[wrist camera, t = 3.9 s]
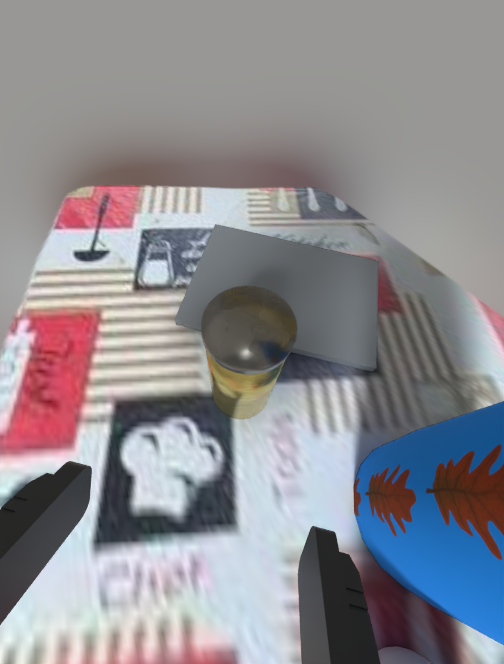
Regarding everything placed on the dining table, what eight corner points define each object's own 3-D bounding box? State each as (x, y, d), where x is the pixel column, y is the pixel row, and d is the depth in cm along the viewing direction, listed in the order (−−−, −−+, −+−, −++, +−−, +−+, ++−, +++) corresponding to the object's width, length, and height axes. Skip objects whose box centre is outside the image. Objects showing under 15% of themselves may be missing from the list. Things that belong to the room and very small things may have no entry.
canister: (275, 370, 28) (303, 297, 18) (263, 427, 25) (289, 380, 15) (220, 357, 28) (217, 276, 18) (203, 411, 26) (187, 355, 15)
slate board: (374, 266, 36) (378, 261, 35) (371, 371, 29) (376, 367, 28) (215, 230, 36) (215, 224, 36) (176, 324, 30) (174, 319, 29)
